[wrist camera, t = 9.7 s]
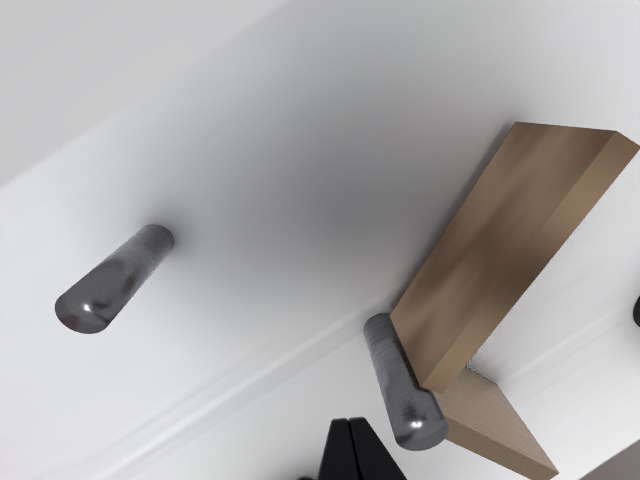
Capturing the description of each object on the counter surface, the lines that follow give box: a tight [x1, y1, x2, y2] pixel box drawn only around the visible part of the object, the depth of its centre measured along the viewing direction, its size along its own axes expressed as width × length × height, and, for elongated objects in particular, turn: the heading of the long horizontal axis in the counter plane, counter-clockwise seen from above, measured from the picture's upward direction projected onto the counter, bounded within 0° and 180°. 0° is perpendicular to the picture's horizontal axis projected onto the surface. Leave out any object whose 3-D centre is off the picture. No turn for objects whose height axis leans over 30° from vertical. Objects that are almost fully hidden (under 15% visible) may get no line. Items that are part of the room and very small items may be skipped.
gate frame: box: [55, 225, 559, 480], centre depth 17 cm, size 26×4×7 cm, turn 55°
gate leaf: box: [390, 122, 640, 394], centre depth 15 cm, size 12×1×5 cm, turn 155°
